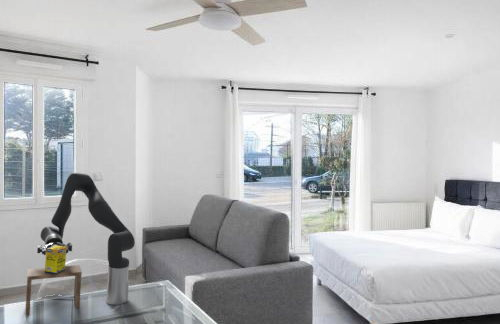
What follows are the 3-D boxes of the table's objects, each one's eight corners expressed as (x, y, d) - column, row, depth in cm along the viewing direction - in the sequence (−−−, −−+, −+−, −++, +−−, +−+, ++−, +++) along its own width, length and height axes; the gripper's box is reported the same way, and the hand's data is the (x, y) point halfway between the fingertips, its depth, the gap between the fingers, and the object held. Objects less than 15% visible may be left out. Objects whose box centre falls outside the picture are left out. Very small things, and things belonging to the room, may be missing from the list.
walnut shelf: (77, 299, 180) (79, 265, 179) (79, 307, 171) (81, 271, 170) (25, 305, 169) (27, 269, 168) (25, 314, 160) (27, 276, 160)
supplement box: (56, 274, 164) (57, 250, 164) (44, 272, 166) (45, 248, 165) (65, 270, 170) (66, 246, 170) (53, 268, 171) (55, 244, 171)
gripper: (37, 235, 180) (38, 245, 166) (70, 234, 187) (73, 243, 173) (36, 251, 180) (37, 261, 166) (69, 249, 188) (72, 259, 174)
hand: (55, 252), depth 170 cm, fingers open, 8 cm apart
